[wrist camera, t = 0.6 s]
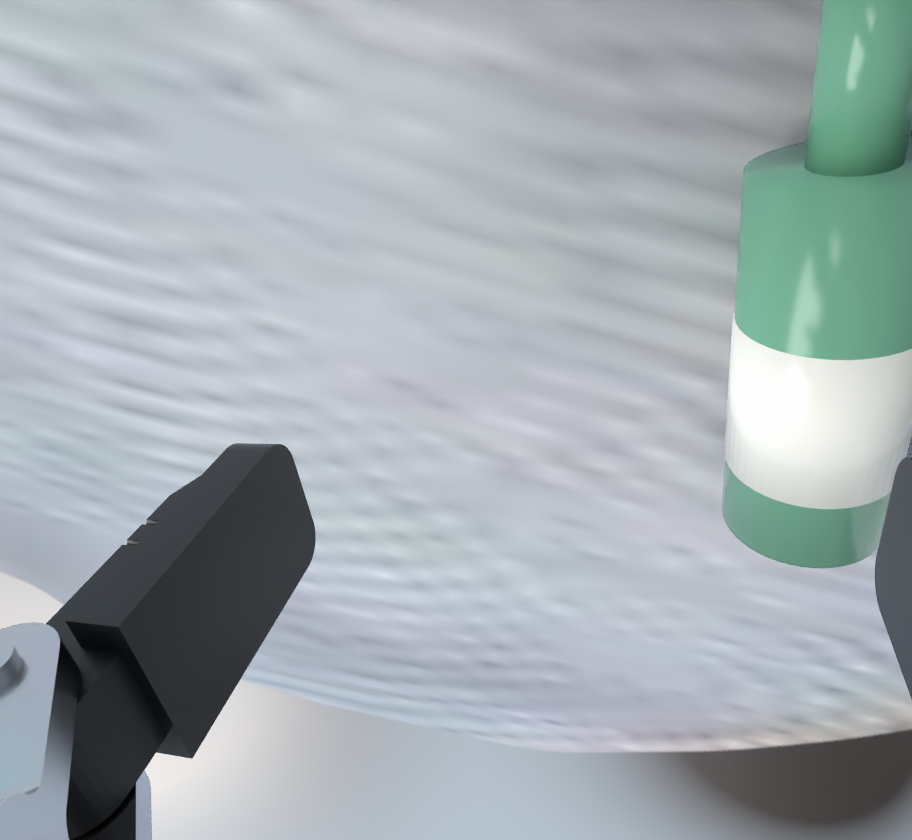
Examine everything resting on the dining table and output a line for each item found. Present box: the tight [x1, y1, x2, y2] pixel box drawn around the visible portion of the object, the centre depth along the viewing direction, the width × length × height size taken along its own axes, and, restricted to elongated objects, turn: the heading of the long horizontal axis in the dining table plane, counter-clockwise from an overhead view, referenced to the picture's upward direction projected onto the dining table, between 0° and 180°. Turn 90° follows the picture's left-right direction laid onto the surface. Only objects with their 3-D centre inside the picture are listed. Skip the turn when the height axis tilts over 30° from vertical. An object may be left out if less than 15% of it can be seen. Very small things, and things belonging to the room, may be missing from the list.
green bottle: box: [722, 0, 912, 568], centre depth 22 cm, size 20×6×6 cm, turn 10°
